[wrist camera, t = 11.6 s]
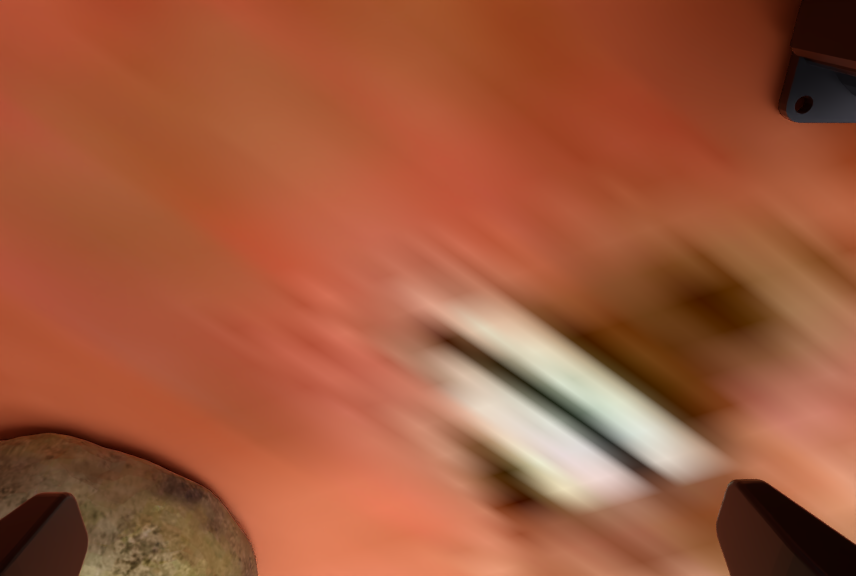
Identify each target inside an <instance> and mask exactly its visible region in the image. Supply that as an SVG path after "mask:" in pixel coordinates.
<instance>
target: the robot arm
mask: <svg viewBox="0 0 856 576" xmlns="http://www.w3.org/2000/svg"><path fill="white" fill-rule="evenodd" d="M790 46H791V48H792V50H793V51H792V55H791V59H790V63H789V66H788V70H787V74H786V78H785V82H784V85H783V89H782V93H781V97H780V100H779V111H780V114H781V115H782V116H783V117H784V118H786V119H788V120H791V121H794V122H798V123H856V0H802V1H801V4H800V8H799V12H798V16H797V20H796V24H795V27H794V31H793V35H792V39H791V43H790ZM802 96H804V97H805V103H804V105H803V107H801V108H800V109H799V110H795V104H796V102H797V100H798V99H799V98H801V97H802ZM716 531H717V537H718V540H719V543H720V546H721V549H722V552H723V555H724V558H725V561H726V564H727V567H728V570H729V573H730V576H856V544H854V543H853V542H851V541H850V540H849V539H847V538H846V537H844V536H843V535H841V534H840V533H839V532H837V531H836V530H834V529H833V528H831V527H830V526H828V525H827V524H826V523H824V522H823V521H821V520H820V519H818V518H817V517H816V516H814V515H813V514H811V513H810V512H808V511H807V510H805V509H804V508H803V507H801V506H800V505H798V504H797V503H795V502H794V501H793V500H791V499H790V498H788V497H787V496H785V495H784V494H782V493H781V492H780V491H778V490H777V489H775V488H774V487H772V486H771V485H770V484H768V483H766V482H765V481H762V480H758V479H742V480H733V481H731V482H730V483H729V484H728V486H727V489H726V492H725V495H724V499H723V502H722V505H721V508H720V512H719V515H718V518H717V523H716ZM87 548H88V534H87V530H86V527H85V524H84V521H83V518H82V516H81V513H80V510H79V507H78V504H77V501H76V499H75V497H74V496H73V495H72V494H71V493H68V492H43V493H39V494H36V495H35V496H33V497H31V498H30V499H28V500H27V501H26V502H24V503H23V504H21V505H20V506H19V507H17V508H16V509H14V510H13V511H12V512H10V513H9V514H7V515H6V516H5V517H3V518H2V519H0V576H79V574H80V571H81V568H82V565H83V562H84V559H85V556H86V553H87Z"/></svg>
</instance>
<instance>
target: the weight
mask: <svg viewBox="0 0 856 576" xmlns="http://www.w3.org/2000/svg"><path fill="white" fill-rule="evenodd" d="M43 492H68V493H71V494H72V495H73V496H74V497H75V499H76V501H77V504H78V507H79V510H80V513H81V516H82V518H83V521H84V524H85V527H86V530H87V534H88V548H87V553H86V556H85V559H84V562H83V565H82V568H81V571H80V574H79V576H258V572H257V564H256V559H255V555H254V551H253V548H252V545H251V543H250V541H249V540H248V538H247V536H246V534H245V533H244V531H243V530H242V529H241V528H240V527H239V526H238V524H237V523H236V521H235V520H234V518H233V517H232V516H231V514H230V513H229V511H228V510H227V508H226V507H225V506H224V505H223V504H222V502H221V501H220V500H219V498H217V497H216V496H215V495H214V494H213V493H212V492H211V491H210V490H209V489H206V488H205V487H203V486H202V485H200V484H198V483H196V482H194V481H192V480H189V479H187V478H185V477H182V476H180V475H178V474H176V473H174V472H171V471H169V470H167V469H165V468H163V467H161V466H159V465H157V464H154V463H152V462H150V461H148V460H145V459H141V458H138V457H136V456H133V455H130V454H126V453H123V452H121V451H117V450H112V449H108V448H104V447H102V446H99V445H97V444H94V443H91V442H89V441H87V440H83V439H79V438H76V437H72V436H68V435H63V434H57V433H41V434H36V435H30V436H21V437H17V438H13V439H9V440H4V441H0V519H2V518H3V517H5V516H6V515H7V514H9V513H10V512H12V511H13V510H14V509H16V508H17V507H19V506H20V505H21V504H23V503H24V502H26V501H27V500H28V499H30V498H31V497H33V496H35V495H36V494H39V493H43Z"/></svg>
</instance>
